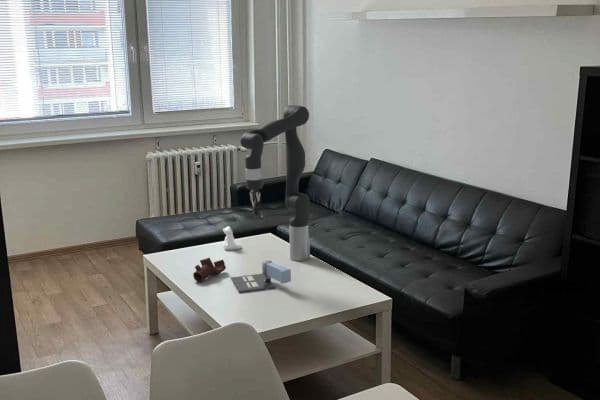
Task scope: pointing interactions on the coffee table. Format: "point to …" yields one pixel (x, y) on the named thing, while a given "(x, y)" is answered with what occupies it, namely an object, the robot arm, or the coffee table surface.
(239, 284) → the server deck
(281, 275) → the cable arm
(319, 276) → the coffee table surface
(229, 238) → the sitting furry creature
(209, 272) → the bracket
